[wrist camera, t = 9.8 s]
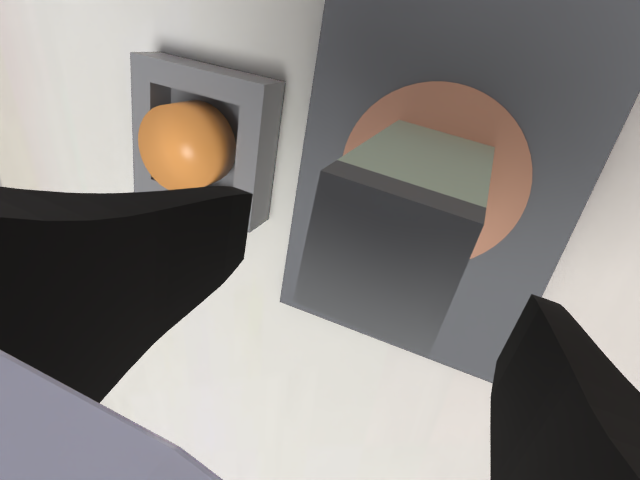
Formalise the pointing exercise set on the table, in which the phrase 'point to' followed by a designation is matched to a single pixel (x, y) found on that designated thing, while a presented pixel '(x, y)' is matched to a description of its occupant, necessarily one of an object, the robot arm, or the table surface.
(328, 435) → the table surface
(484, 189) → the grey and green block
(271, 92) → the button housing
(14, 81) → the table surface
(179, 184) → the button
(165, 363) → the table surface
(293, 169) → the table surface
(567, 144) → the drawing mat
